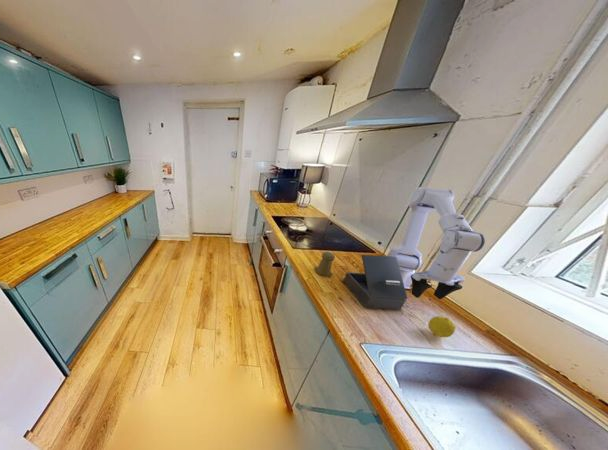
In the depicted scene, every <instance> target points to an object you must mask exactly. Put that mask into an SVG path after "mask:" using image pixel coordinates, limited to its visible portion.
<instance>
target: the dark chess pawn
mask: <svg viewBox="0 0 608 450" xmlns="http://www.w3.org/2000/svg"><path fill="white" fill-rule="evenodd" d="M335 259H336V256H335V254H334V253H333V252H331V251H324V252H323V253H322V254H321V260H320V262H319V264H318V265H317V268H316V269H315V272H316V273H317V274H318V275H320V276H324V277H329V276H330V275H331V269H332V263H333V261H334V260H335Z"/></svg>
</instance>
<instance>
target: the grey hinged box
mask: <svg viewBox="0 0 608 450" xmlns="http://www.w3.org/2000/svg"><path fill="white" fill-rule="evenodd" d="M342 282H343V283H344V284H345V286H346V287H347V288H348V289H349V290H350V292H351V293H352V294H353V295H354V296H355V297H356V299H357V300H358V301H359V302H360V304H361V305H362V306H363V307H364V308H366V309H378V310H379V309H380V310H391V311H392V310H395V311H401V309H402V308H403V306H404V305H405V304H406V301H407V299H395V298H380V297H370V295H369V290H368V286H367V281H366V276H365V272H364V273H363V272H346V273H345V275H344V278H343V281H342Z"/></svg>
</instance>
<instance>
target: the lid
mask: <svg viewBox="0 0 608 450" xmlns="http://www.w3.org/2000/svg"><path fill="white" fill-rule="evenodd" d="M361 261H362V266H363V270H364V273H365V276H366V281H367V286H368V290H369V295H370V297H380V298H395V299H406V300H408V295H407V292H406V289H405V287H404V284H403V280H402V276H401V272H400V268H399V264H398V261H397V257H392V256H387V255H372V254H361Z"/></svg>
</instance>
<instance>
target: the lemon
mask: <svg viewBox="0 0 608 450" xmlns="http://www.w3.org/2000/svg"><path fill="white" fill-rule="evenodd" d="M427 326H428V327H427V328H428V330H429V331H430V332H431V333H432V334H433V335H434V336H436V337H440V338H449V337H451V336H453V335H454V334H455V331H456V325H455V324H454V322H453V321H452V320H451V319H449V318H448V317H445V316H440V315H439V316H438V315H437V316H434V317H432V318H430V320H429V321H428V324H427Z"/></svg>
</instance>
